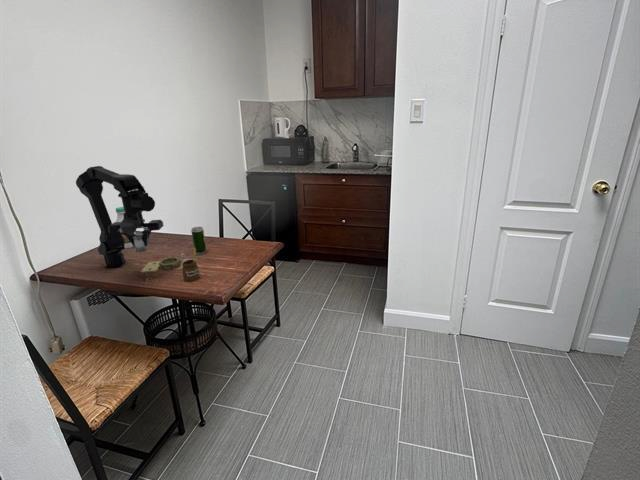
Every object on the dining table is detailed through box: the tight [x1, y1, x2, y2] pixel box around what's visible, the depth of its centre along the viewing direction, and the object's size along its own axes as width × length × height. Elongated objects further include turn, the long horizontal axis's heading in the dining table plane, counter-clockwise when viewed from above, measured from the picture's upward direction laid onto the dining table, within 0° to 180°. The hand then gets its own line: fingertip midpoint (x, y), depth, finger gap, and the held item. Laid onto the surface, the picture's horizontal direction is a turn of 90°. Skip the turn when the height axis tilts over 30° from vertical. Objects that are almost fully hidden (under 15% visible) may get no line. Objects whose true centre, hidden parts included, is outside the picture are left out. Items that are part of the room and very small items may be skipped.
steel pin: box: [132, 232, 148, 253], centre depth 136 cm, size 5×5×6 cm
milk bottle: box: [115, 206, 137, 249], centre depth 170 cm, size 8×8×20 cm
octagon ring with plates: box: [140, 256, 199, 274], centre depth 148 cm, size 21×10×2 cm, turn 97°
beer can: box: [191, 226, 208, 255], centre depth 160 cm, size 5×5×12 cm
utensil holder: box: [179, 247, 200, 282], centre depth 134 cm, size 6×6×12 cm
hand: (140, 246), depth 137 cm, fingers closed on steel pin, 4 cm apart
